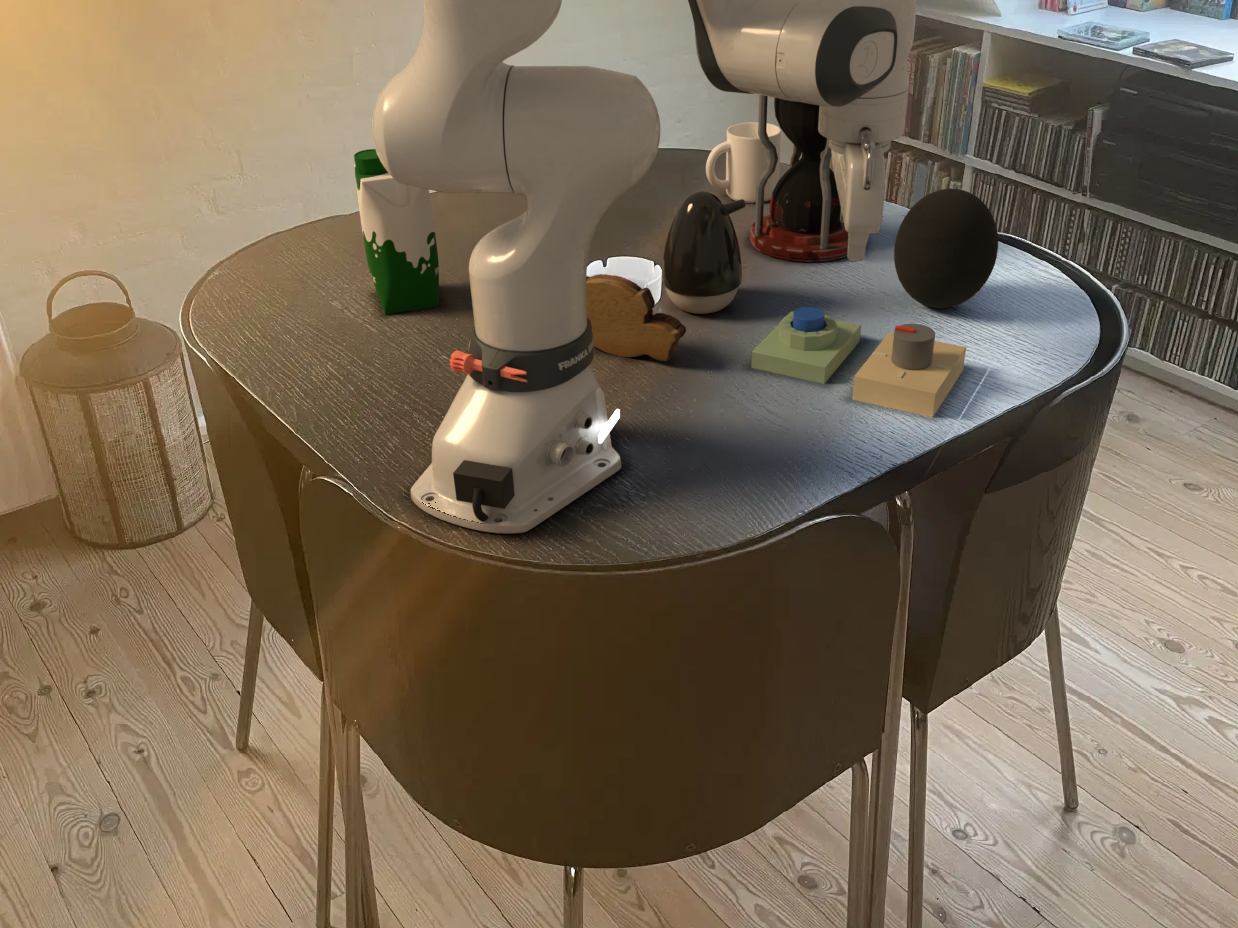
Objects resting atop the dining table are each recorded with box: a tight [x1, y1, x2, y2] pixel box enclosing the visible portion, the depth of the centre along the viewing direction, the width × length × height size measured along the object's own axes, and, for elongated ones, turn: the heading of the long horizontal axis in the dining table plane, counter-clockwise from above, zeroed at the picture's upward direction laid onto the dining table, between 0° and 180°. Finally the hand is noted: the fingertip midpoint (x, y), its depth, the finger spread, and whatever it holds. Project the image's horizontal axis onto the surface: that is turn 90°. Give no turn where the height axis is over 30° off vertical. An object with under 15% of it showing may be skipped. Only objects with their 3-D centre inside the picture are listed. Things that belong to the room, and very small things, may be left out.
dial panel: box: [852, 331, 967, 418], centre depth 131 cm, size 12×9×3 cm
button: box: [793, 306, 826, 332], centre depth 137 cm, size 4×4×2 cm
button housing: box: [751, 311, 862, 385], centre depth 138 cm, size 12×9×4 cm
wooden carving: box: [586, 273, 687, 362], centre depth 138 cm, size 16×5×10 cm, turn 64°
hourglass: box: [749, 94, 849, 263], centre depth 162 cm, size 16×16×25 cm
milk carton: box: [353, 148, 440, 315], centre depth 150 cm, size 9×9×20 cm
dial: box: [891, 323, 936, 370], centre depth 129 cm, size 4×4×4 cm
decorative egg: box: [893, 188, 999, 309], centre depth 145 cm, size 12×12×15 cm
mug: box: [705, 121, 782, 204], centre depth 182 cm, size 12×8×10 cm
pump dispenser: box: [661, 190, 747, 315], centre depth 147 cm, size 10×10×15 cm
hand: (851, 241), depth 128 cm, fingers open, 8 cm apart
